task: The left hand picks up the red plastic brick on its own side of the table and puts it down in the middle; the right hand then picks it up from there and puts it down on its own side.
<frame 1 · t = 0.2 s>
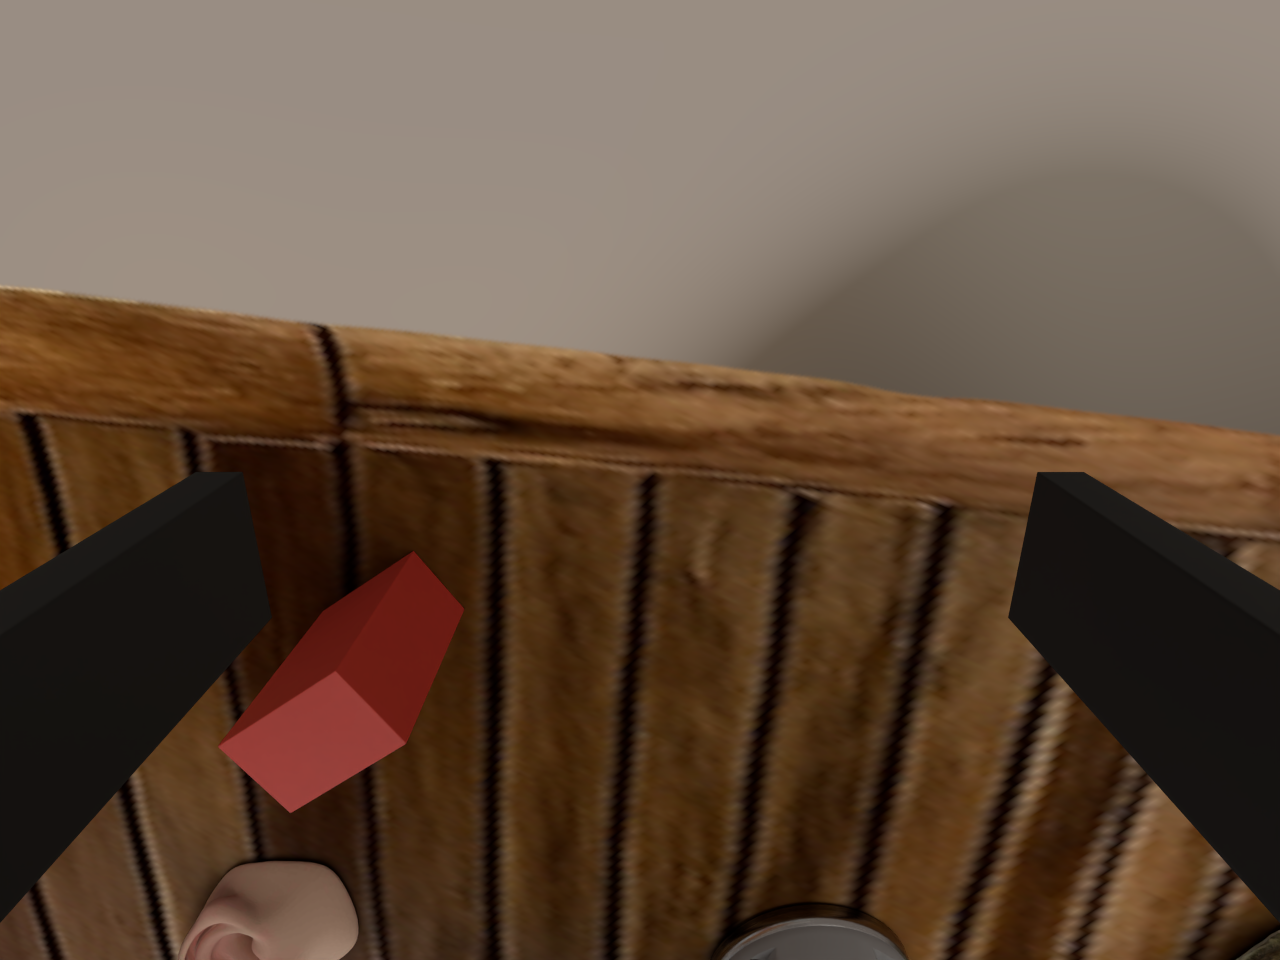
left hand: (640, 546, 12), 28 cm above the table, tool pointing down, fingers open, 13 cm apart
brick: (393, 609, 45), on the table
anatomical model: (278, 919, 54), on the table
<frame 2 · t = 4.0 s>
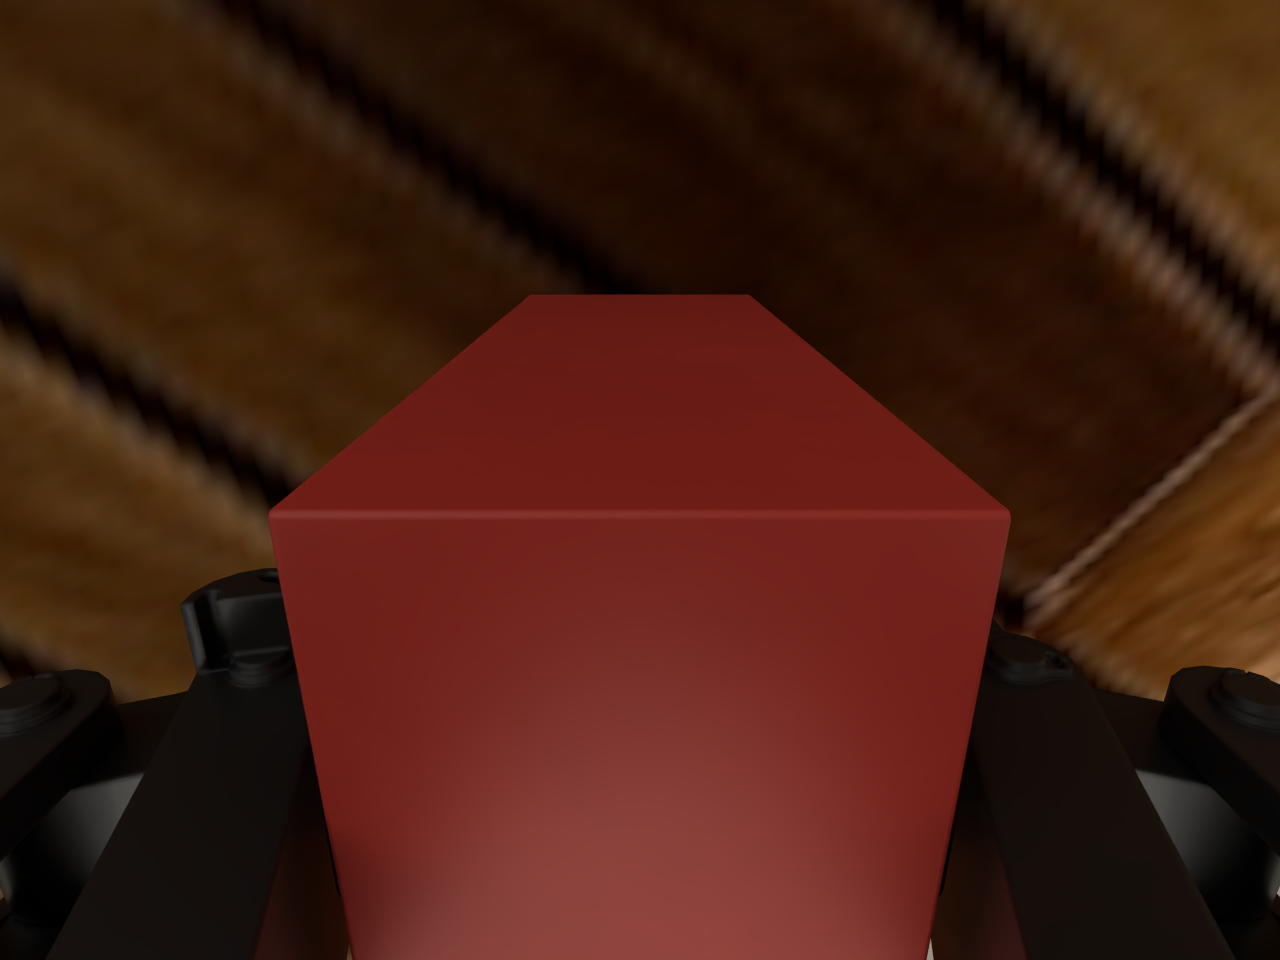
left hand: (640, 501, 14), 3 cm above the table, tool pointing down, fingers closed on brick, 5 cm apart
brick: (639, 453, 17), on the table, touching left hand
when the left hand's fingers open (4 cm above the table, at t = 9.4 s): brick drops 1 cm, on the table.
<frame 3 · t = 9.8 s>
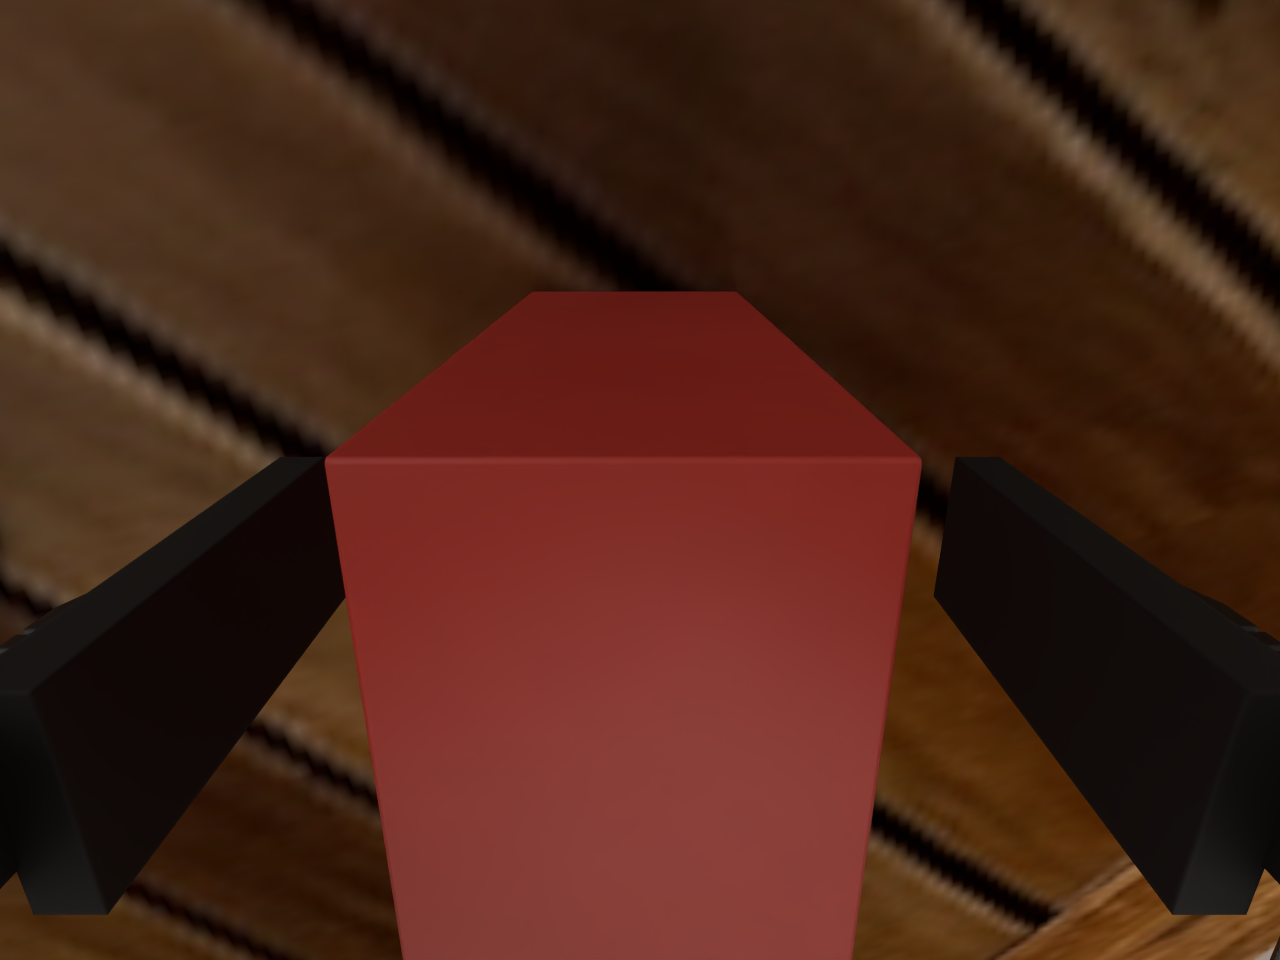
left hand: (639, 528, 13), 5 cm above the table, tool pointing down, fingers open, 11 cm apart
brick: (634, 441, 18), on the table
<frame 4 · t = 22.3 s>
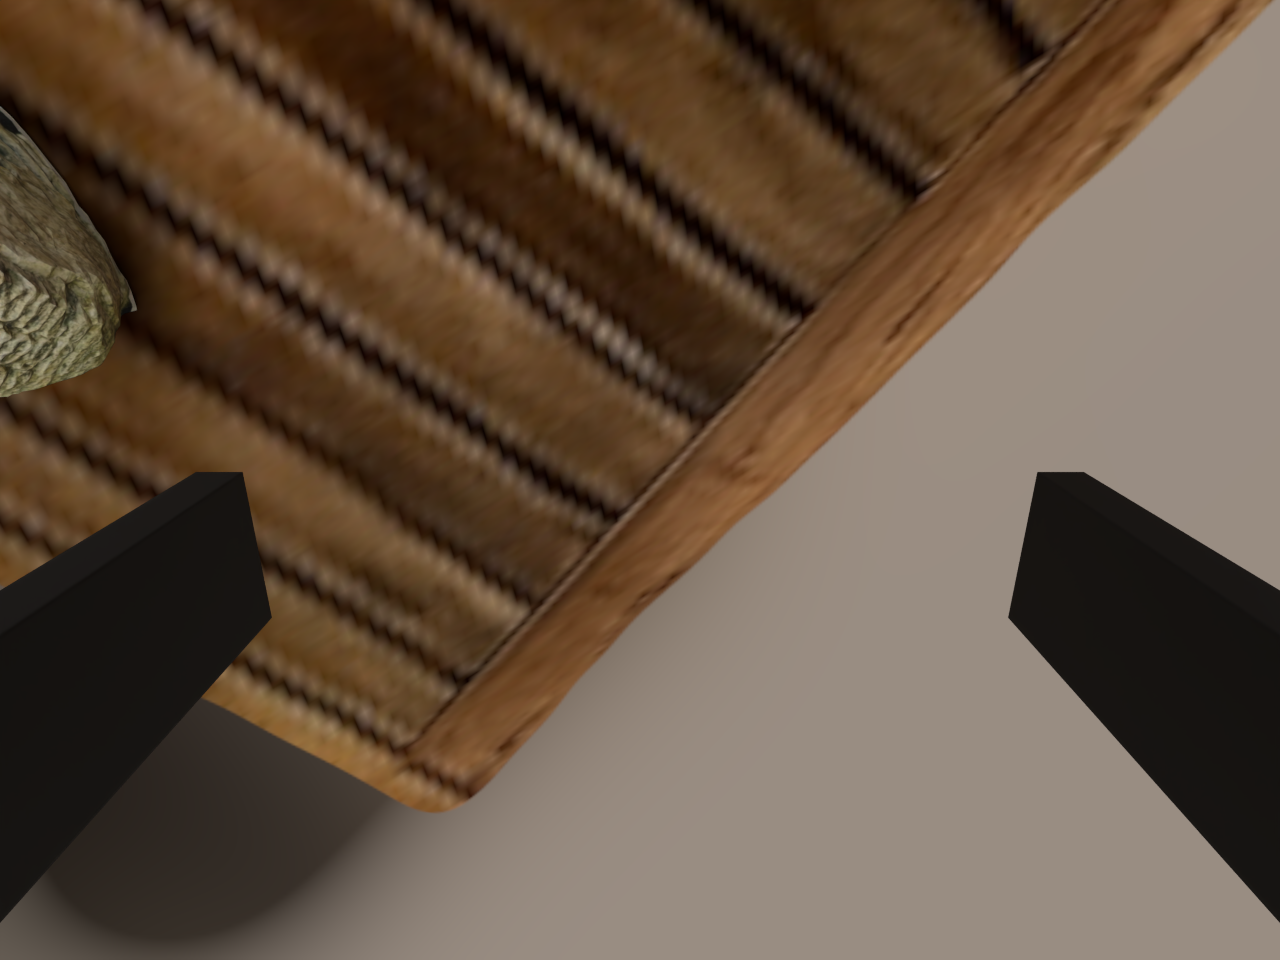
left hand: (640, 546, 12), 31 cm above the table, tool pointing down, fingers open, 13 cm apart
fossil: (20, 213, 40), on the table
when the right hand's fingers open (4 cm above the table, at t = 34.0 s): brick drops 1 cm, on the table.
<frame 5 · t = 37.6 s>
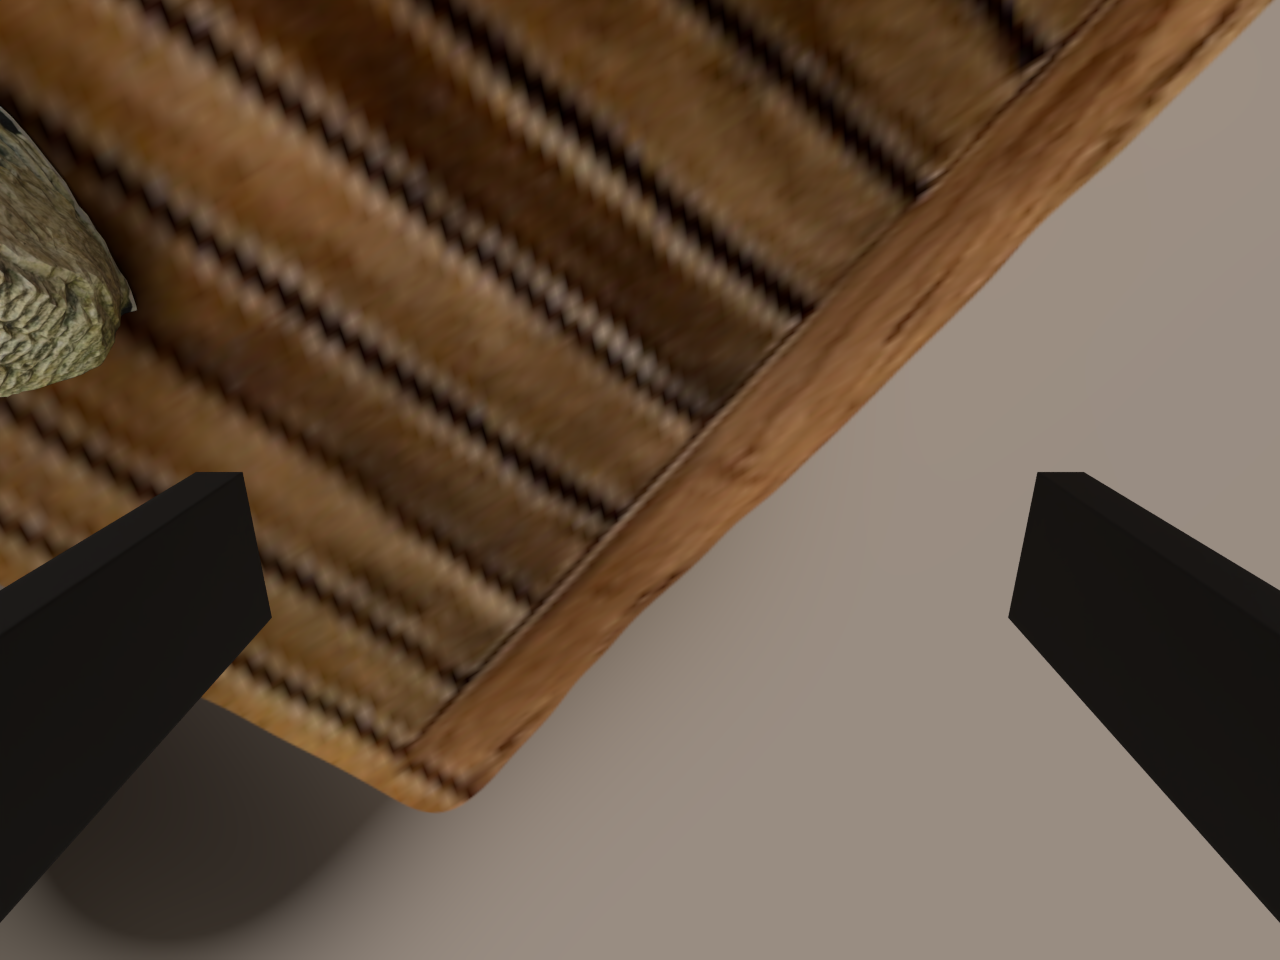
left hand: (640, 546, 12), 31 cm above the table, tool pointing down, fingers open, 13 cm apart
fossil: (20, 213, 40), on the table
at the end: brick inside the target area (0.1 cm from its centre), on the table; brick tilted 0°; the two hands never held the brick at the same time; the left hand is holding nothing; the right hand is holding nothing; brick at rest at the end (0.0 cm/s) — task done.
